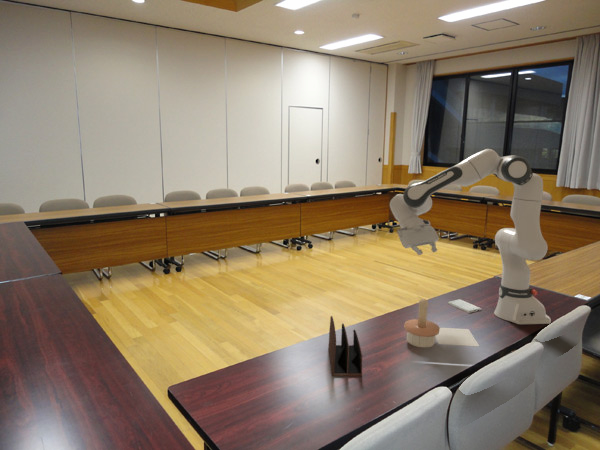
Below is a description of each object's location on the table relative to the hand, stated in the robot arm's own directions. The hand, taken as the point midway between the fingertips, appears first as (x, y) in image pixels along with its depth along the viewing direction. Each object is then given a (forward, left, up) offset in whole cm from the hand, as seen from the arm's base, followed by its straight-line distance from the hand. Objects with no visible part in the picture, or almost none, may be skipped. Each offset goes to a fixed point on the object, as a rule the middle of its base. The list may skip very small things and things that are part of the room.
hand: (428, 252), depth 182 cm
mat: (-9, +20, -29) cm, 36 cm away
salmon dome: (+5, +25, -24) cm, 35 cm away
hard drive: (-21, -15, -30) cm, 40 cm away
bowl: (+5, +26, -29) cm, 39 cm away
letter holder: (+35, +44, -30) cm, 63 cm away
